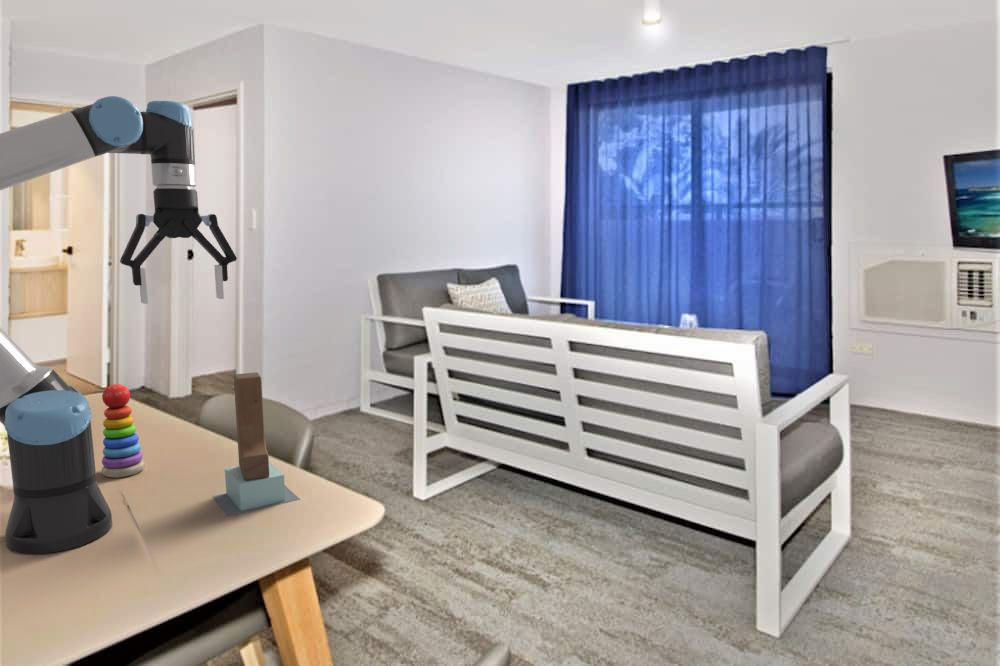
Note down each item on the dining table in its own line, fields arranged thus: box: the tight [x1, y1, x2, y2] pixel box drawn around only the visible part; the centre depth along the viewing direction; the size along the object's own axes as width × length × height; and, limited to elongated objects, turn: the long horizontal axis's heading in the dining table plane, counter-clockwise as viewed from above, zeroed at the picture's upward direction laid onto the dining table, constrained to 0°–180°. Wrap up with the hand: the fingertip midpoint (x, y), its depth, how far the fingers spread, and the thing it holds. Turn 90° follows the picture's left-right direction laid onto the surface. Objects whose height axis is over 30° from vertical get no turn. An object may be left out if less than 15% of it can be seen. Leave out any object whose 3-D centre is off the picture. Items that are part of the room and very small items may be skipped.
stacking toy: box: [101, 383, 146, 478], centre depth 146 cm, size 8×8×19 cm
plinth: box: [224, 461, 286, 511], centre depth 133 cm, size 8×10×5 cm
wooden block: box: [233, 371, 270, 480], centre depth 131 cm, size 9×4×18 cm, turn 25°
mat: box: [212, 485, 301, 517], centre depth 133 cm, size 13×11×1 cm
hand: (183, 300), depth 136 cm, fingers open, 13 cm apart
